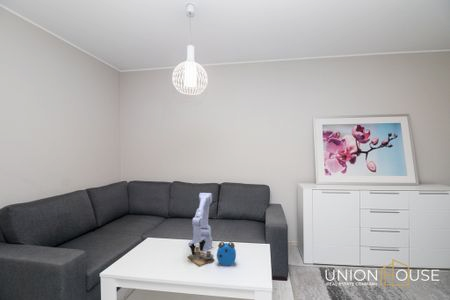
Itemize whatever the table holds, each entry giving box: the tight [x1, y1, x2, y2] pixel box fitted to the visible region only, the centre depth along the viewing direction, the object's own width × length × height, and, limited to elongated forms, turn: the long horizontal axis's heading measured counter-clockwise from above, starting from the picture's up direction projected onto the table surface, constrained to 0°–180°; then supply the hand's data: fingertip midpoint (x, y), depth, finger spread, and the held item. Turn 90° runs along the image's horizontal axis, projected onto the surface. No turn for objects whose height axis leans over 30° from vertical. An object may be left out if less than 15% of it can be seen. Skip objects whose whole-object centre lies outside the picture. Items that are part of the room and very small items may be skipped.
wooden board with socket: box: [187, 250, 215, 268], centre depth 160 cm, size 13×17×6 cm
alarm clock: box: [216, 241, 237, 267], centre depth 154 cm, size 13×6×15 cm, turn 88°
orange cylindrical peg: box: [195, 246, 200, 255], centre depth 162 cm, size 2×2×7 cm
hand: (197, 252), depth 162 cm, fingers open, 7 cm apart
